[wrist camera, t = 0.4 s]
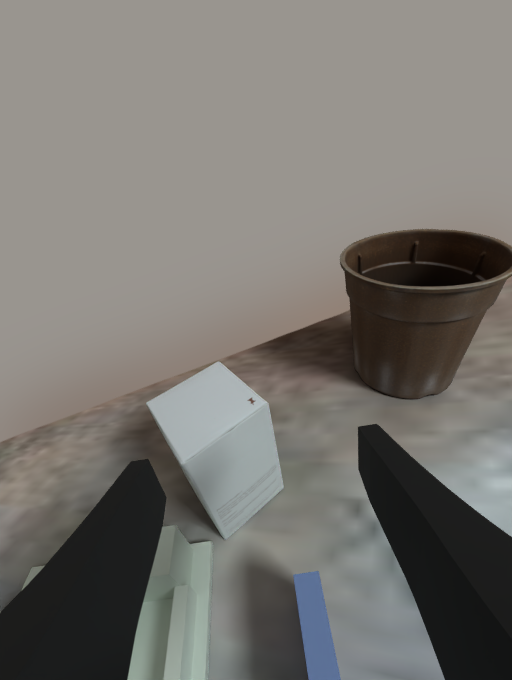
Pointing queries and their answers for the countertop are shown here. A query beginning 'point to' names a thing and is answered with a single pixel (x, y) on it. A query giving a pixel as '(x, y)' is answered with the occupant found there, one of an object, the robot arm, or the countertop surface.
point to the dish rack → (173, 612)
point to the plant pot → (419, 304)
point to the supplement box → (221, 444)
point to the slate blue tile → (315, 628)
